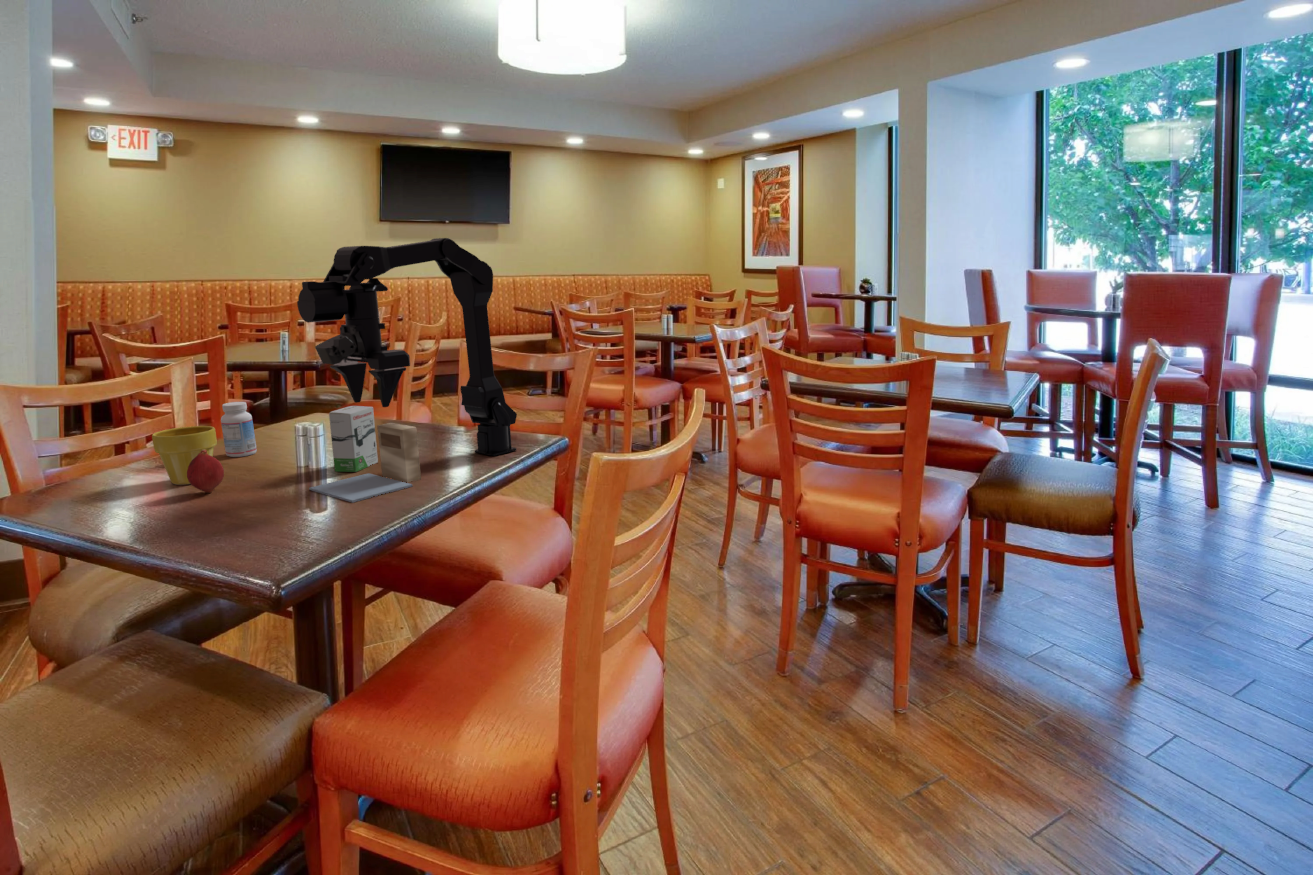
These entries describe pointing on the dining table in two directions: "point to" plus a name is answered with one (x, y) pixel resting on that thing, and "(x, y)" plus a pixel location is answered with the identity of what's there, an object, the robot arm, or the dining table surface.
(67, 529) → the dining table surface
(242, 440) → the pill bottle
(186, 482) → the plant pot
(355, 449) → the ink box
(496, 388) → the robot arm
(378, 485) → the rubber mat
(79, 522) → the dining table surface
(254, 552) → the dining table surface
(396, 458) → the maple slab
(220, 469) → the onion
